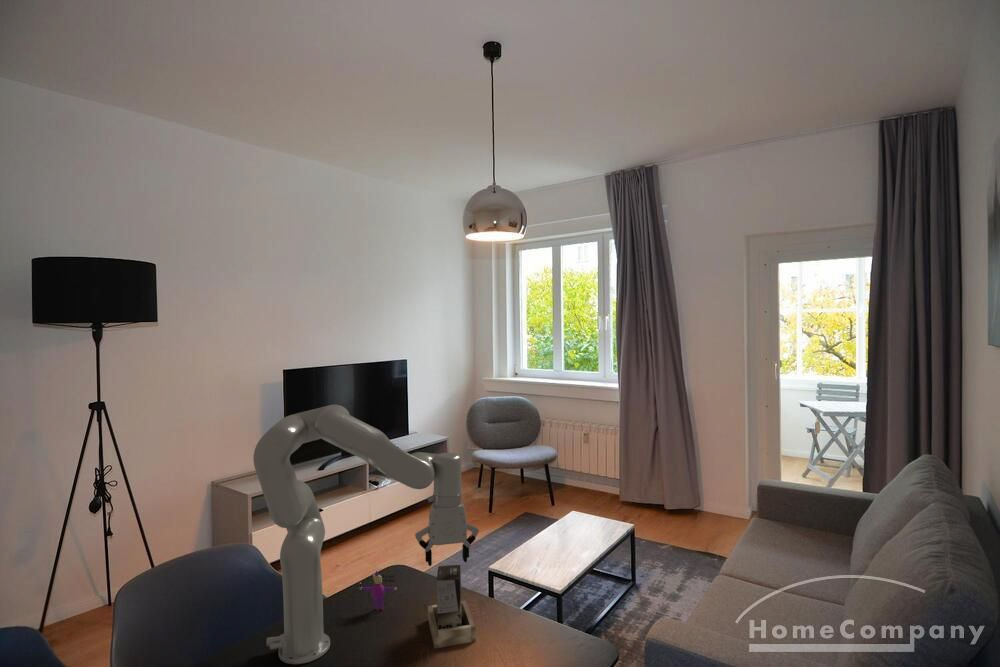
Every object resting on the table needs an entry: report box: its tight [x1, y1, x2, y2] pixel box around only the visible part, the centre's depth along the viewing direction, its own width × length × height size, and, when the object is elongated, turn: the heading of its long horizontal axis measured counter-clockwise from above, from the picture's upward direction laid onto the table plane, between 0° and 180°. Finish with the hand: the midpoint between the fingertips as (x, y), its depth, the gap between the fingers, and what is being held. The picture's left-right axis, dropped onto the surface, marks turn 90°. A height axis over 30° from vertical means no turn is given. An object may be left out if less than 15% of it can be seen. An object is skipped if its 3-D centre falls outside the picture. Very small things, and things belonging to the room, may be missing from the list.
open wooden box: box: [427, 600, 477, 649], centre depth 147 cm, size 11×14×4 cm
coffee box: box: [436, 564, 463, 630], centre depth 146 cm, size 9×6×16 cm
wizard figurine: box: [359, 570, 398, 611], centre depth 157 cm, size 11×3×12 cm, turn 85°
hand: (447, 562), depth 146 cm, fingers open, 9 cm apart
